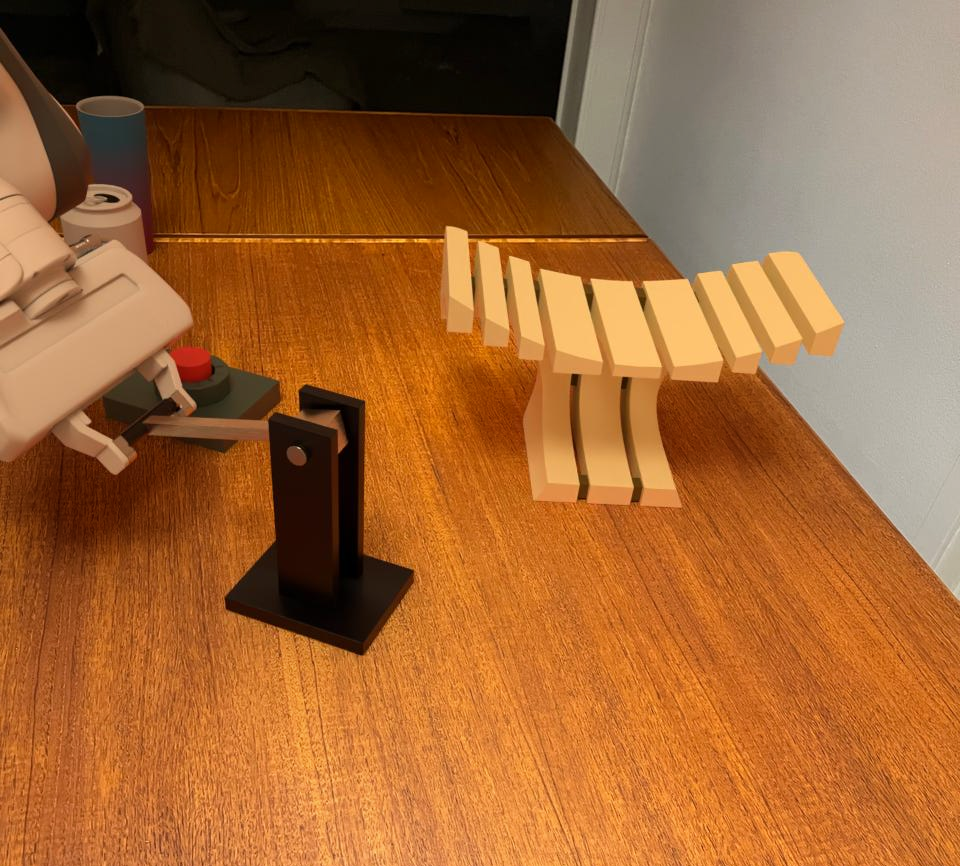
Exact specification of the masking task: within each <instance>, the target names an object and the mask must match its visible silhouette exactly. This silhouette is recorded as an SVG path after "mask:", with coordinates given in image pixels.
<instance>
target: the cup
mask: <svg viewBox="0 0 960 866" xmlns="http://www.w3.org/2000/svg"><path fill="white" fill-rule="evenodd" d="M75 109H76V114H77V117H78V122H79V125H80V132H81V134H82V136H83V138H84V140H85V142H86V144H87V145H88V148H89V150H90V153H91V171H90V175H91V177H92V182H93V184H105V185H113V186H117V187H121V188H123V189H125V190H127V191H129V192H130V193H131V194H132V201H133V202H134V203H135V204H136V205H137V206H138V207H139V208H140V209H141V215H142V222H143V230H144V237H145V244H146V251H147V255H149V254H151V253H152V252H154V250H155V236H154V222H153V210H152V195H151V181H150V180H151V179H150V167H149V153H148V152H149V151H148V140H147V125H146V111H145V110H146V109H145V105H144V104H143V103H142V102H141V101H139V100H136V99H135V98H131V97H126V96H119V95H100V96H91V97H87V98H84V99H81V100H79V101H78V102H77V103H76V105H75Z"/></svg>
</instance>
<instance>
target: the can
mask: <svg viewBox="0 0 960 866" xmlns="http://www.w3.org/2000/svg"><path fill="white" fill-rule="evenodd" d="M59 218H60V224H61V230H62V234H63V240H64V241H65V243H66V244H67V245H71V244H75V243H77V242H79V241H80V240H81V239H82V238H83V237H85V236H87V235H90V234H97V235H98V236H99V237H106V238H109V239H112V240H117V241H119V242H120V243H121V244H122V245H123V246H124V247H125V248H126V249H127V250H128V251H130V252H132V253H133V254H135V255H136V256H138V257H139V258H140V259H141V260H143V261H144V262H145V263H146V264H147V265H148V266H149V260H148V259H149V258H148V254H147V251H146V244H145V237H144V230H143V222H142V215H141V209H140V208H139V207H138V206H137V205H136V204H135V203H134V202H133V201H132V194H131V193H130V192H129V191H127V190H125V189H123V188H121V187H117V186H113V185H105V184H94V183H92V184H89V186H88V191H87V195H86V199H85V201H84V202H83V203H82V204H80V205H78V206H77V207H75V208H73V209H71V210H70V211H68V212H66V213H65V214H63V215H62V216H60V217H59ZM104 244H106V243H102V245H101V246H103V245H104Z"/></svg>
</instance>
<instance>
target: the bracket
mask: <svg viewBox="0 0 960 866" xmlns="http://www.w3.org/2000/svg"><path fill="white" fill-rule="evenodd" d="M303 409H321V410H340V412H341V416H342V420H343V424H344V428H345V432H346V436H347V440H348V444H347V445H346V446H345V447H344V448H343V449H342V450H341V451H340V452H339V454H338V430H336V429H333V428H330V427H326V426H323V425H319V424H316V423H312V422H309V421H305V420H302V419H299V418H295V416H291V415H289V414H284V413H281V412H277V411H274V412H273V414H271V415H270V417H268V419H267V421H268V428H269V442H268V443H269V456H270V473H271V486H272V487H271V489H272V503H273V506H272V507H273V522H274V536H275V540H274V541H273V542H272V543H271V544H270V545H269V547H268V548H267V549H265V551H264V553H262V554H261V556H260V557H259V558H258V559H257V560H256V561H255V562H254V563H253V565H252V566H251V567H250V568H249V569H248V570H247V571H246V573H244V575H243V576H242V577H241V578H240V579H239V580H238V582H236V584H235V585H234V586H233V587H232V588H231V589H230V591H229V592H227V594H225V596H224V606H225V610H227V611H230V612H231V613H232V612H233V613H235V614H238V615H241V616H243V617H248V618H250V619H252V620H253V619H254V620H256V621H258V622H262V623H265V624H268V625H271V626H274V627H277V628H279V629H283V630H285V631H289V632H291V633H295V634H297V635H301V636H304V637H307V638H310V639H312V640H316V641H318V642H321V643H324V644H327V645H330V646H333V647H337V648H339V649H343V650H344V651H348V652H350V653H354V654H357V655H359V656H364V655H365V653H366V652H367V650H368V649H369V647H370V646H371V644H372V643H373V642H374V640H375V639H376V637H377V636H378V635H379V633H380V631H381V630H382V629H383V627H384V626H385V624H386V622H387V621H388V620H389V618H390V617H391V615H392V614H393V612H395V609H396V608H397V607H398V606H399V604H400V602H401V601H402V599H403V598H404V597H405V595H406V594H407V592H408V590H409V589H410V588H411V586H412V584H413V583H414V581H415V579H414V578H415V569H412V568H408V567H405V566H402V565H399V564H396V563H393V562H389V561H387V560H383V559H380V558H377V557H374V556H371V555H368V554H364V547H365V546H364V545H365V544H364V543H365V537H364V536H365V470H366V469H365V466H366V465H365V461H366V460H365V459H366V452H365V451H366V400H364V399H360V398H358V397H357V398H356V397H353V396H350V395H346V394H343V393H339V392H336V391H333V390H328V389H325V388H321V387H318V386H315V385H311V384H307V383H305V384H304V385H303V386H301V387H300V389H298V410H299V411H298V413H300V412H301V411H302V410H303Z"/></svg>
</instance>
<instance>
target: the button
mask: <svg viewBox="0 0 960 866" xmlns="http://www.w3.org/2000/svg"><path fill="white" fill-rule="evenodd" d="M172 350H173V351H172V352H170V354H169V355H170V356H171V357H172V359H173V360H174V361H175V364H176V367H177V370H178V373H179V377H180V380H181V382H199V381H203V380H206V379H209V378H210V377H211V376H212V366H211V357H210V355H211V354H210V352H209V351H208V350H207V349H204V348H203V347H198V346H182V347H178V348H175V349H172Z"/></svg>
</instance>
